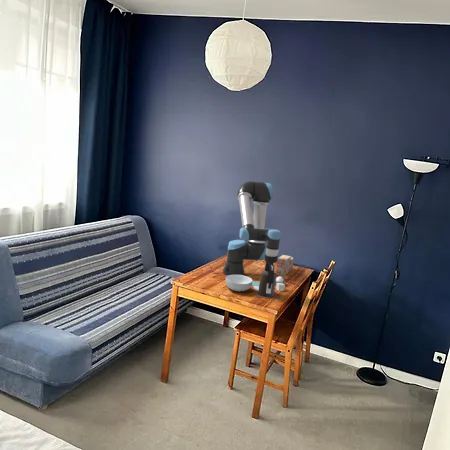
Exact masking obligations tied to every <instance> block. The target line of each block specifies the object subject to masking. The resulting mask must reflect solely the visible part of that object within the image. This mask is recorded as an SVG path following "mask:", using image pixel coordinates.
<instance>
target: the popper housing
mask: <svg viewBox="0 0 450 450" xmlns="http://www.w3.org/2000/svg"><path fill="white" fill-rule="evenodd" d="M276 283H283V284H284V285H285V287H286V286H287V285H286V284H287V282H286V281H285V279H284V280H283V282H276ZM276 283H275V287H276Z"/></svg>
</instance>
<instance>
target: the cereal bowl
mask: <svg viewBox="0 0 450 450" xmlns="http://www.w3.org/2000/svg"><path fill="white" fill-rule="evenodd" d="M252 281H253V279H252V278H251V277H249V276H246V275H244V276H243V275H226V277H225V284H226V287H227V288H229V289H230V290H232V291H234V292H237V291H238V292H237V293H239V292H240V293H241V291H242V292H244V291H247V290H249V289H250V288H251V287H253V286H252Z"/></svg>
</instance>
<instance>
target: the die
mask: <svg viewBox="0 0 450 450" xmlns="http://www.w3.org/2000/svg"><path fill="white" fill-rule="evenodd" d="M285 288H286V286H285V285H284V284H283V283H276V286H275V290H276V291H278V292H284V291H285Z"/></svg>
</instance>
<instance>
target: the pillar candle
mask: <svg viewBox="0 0 450 450" xmlns="http://www.w3.org/2000/svg"><path fill="white" fill-rule="evenodd" d="M277 275H278V274H276V272H274V279H273V283H272V288H271V294H270V293H266V289H267V282H268V276H269V275H268V272H267V271H264V270H261V272H260V277H259V282H260V283H259V290H258V291H257V295H258V296H259V295H260V297H270V298H274V295H275V293H274V291H275V290H276V286H275V283H276V278H277V277H278V276H277Z"/></svg>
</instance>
